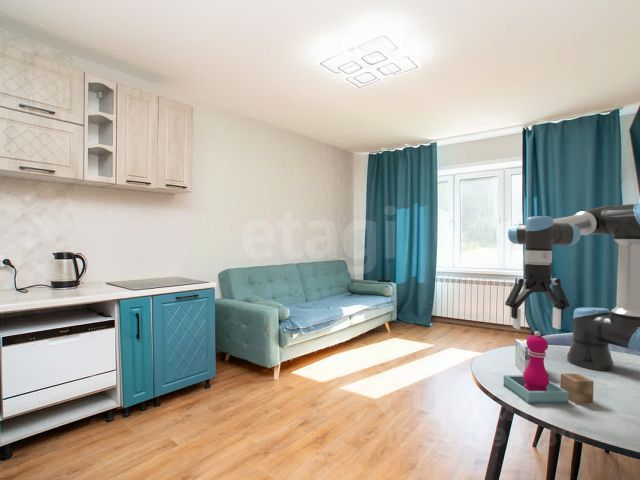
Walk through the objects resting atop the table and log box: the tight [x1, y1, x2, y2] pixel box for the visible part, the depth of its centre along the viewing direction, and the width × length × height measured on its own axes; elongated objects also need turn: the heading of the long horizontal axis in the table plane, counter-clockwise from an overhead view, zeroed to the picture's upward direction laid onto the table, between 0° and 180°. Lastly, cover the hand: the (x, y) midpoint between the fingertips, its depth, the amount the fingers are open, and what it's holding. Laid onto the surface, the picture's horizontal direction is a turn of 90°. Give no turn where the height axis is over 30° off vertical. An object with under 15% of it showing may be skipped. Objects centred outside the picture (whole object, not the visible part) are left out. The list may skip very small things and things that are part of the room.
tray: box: [502, 374, 570, 405], centre depth 113 cm, size 13×13×4 cm
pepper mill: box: [523, 330, 550, 391], centre depth 113 cm, size 7×7×20 cm
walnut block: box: [559, 373, 595, 405], centre depth 111 cm, size 6×6×7 cm
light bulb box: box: [514, 338, 530, 375], centre depth 134 cm, size 11×7×11 cm, turn 168°
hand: (536, 328), depth 113 cm, fingers open, 13 cm apart
